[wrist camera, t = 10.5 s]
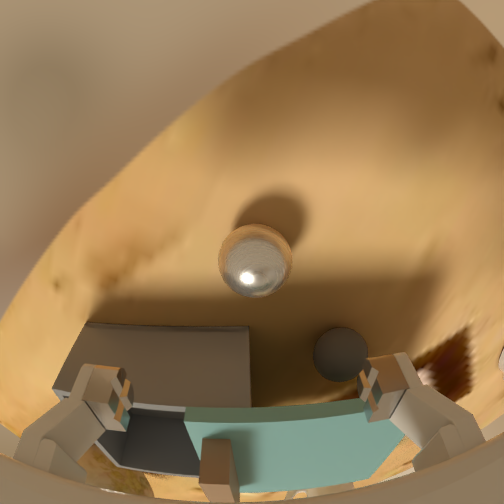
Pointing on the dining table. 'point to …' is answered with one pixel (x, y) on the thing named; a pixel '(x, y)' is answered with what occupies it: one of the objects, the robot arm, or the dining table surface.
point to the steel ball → (255, 260)
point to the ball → (340, 354)
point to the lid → (286, 447)
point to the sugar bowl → (113, 474)
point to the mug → (321, 490)
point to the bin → (163, 386)
